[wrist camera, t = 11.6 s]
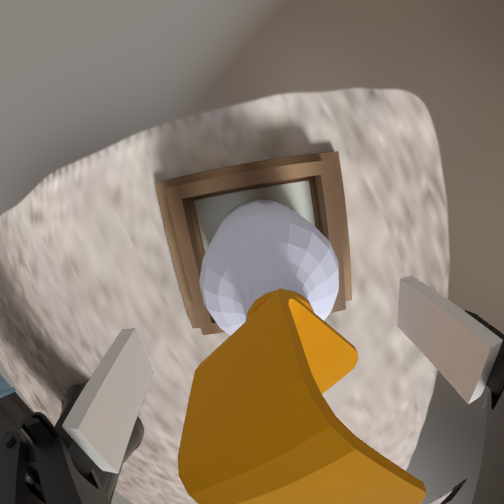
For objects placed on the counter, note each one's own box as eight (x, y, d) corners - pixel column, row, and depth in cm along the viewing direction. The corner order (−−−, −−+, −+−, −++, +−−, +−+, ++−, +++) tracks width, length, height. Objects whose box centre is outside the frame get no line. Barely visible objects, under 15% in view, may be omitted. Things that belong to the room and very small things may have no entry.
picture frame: (194, 323, 30) (188, 343, 26) (158, 182, 26) (145, 184, 22) (348, 296, 30) (361, 312, 26) (334, 152, 26) (349, 148, 22)
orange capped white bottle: (264, 305, 28) (303, 560, 5) (195, 249, 27) (64, 507, 3) (325, 242, 27) (517, 442, 3) (257, 179, 25) (465, 243, 1)
